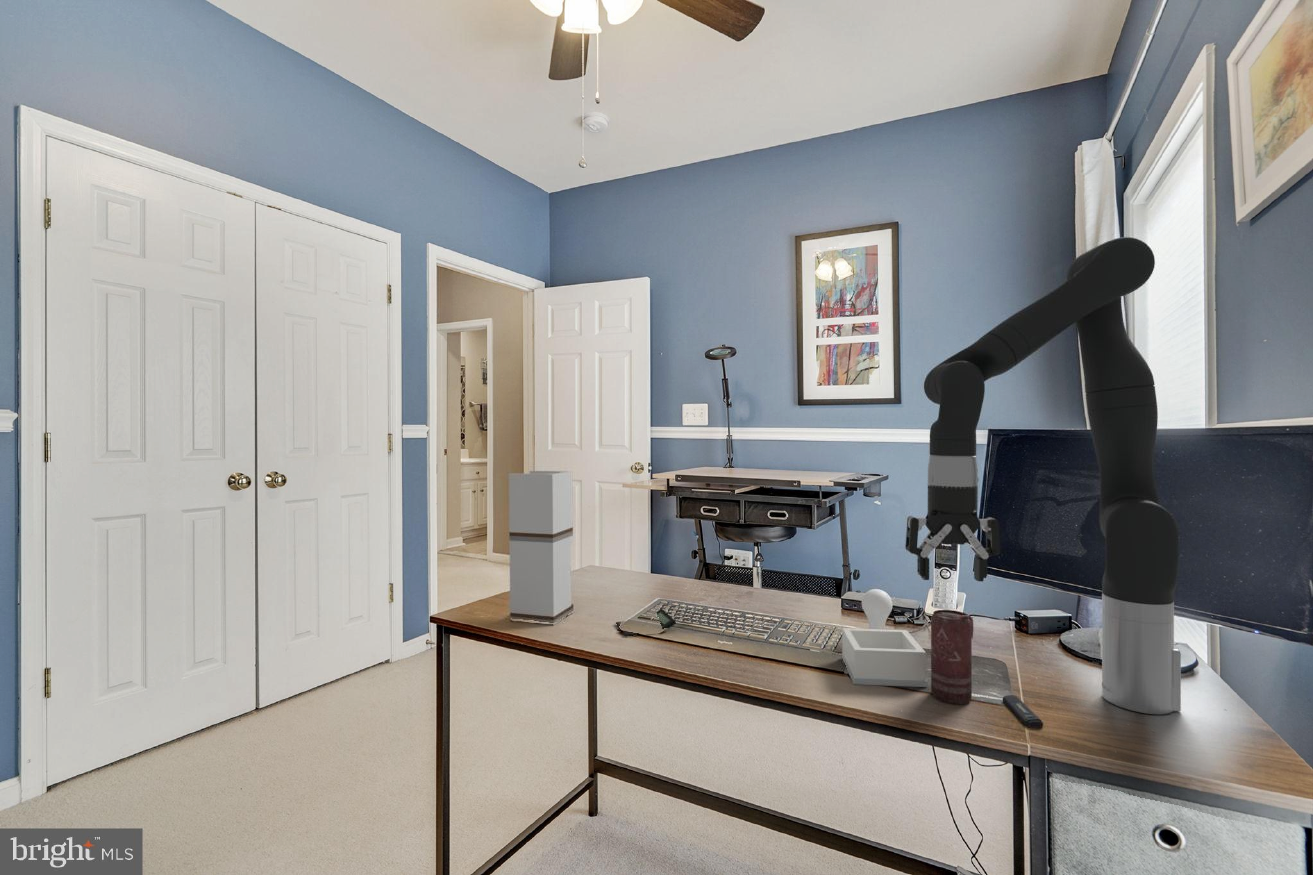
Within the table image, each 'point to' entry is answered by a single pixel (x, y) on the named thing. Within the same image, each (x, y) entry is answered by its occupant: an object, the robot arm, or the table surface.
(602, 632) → the table surface
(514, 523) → the banded grey pillar
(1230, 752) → the table surface
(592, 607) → the table surface
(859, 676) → the light grey open box
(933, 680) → the can
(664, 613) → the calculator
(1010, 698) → the usb stick
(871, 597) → the lightbulb
